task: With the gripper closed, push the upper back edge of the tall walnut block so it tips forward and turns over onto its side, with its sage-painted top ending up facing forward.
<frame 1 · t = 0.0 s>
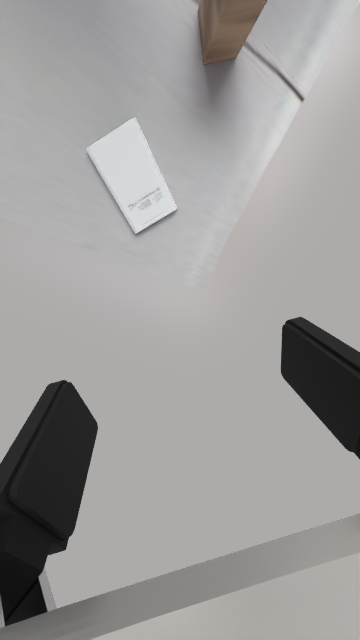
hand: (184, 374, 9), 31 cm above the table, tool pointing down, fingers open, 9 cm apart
external hard drive: (135, 183, 32), on the table
walnut block: (217, 35, 26), on the table
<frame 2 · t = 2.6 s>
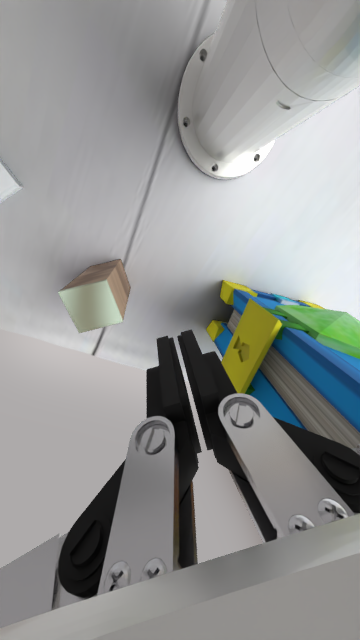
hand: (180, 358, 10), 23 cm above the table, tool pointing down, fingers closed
decorative book: (263, 317, 38), on the table
walnut block: (111, 277, 30), on the table
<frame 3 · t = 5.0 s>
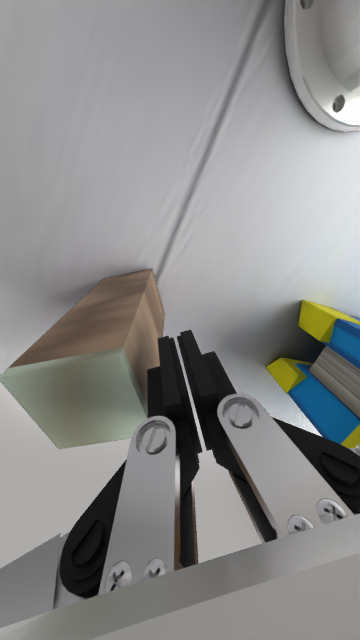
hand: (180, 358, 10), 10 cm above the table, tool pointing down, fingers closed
decorative book: (345, 350, 26), on the table
walnut block: (135, 297, 18), on the table, tilted 7°
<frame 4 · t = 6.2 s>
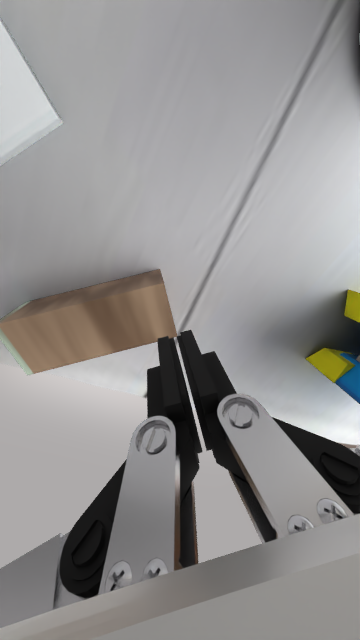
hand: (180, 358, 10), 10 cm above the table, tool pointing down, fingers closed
walnut block: (168, 300, 17), point 2 cm above the table, tilted 90°
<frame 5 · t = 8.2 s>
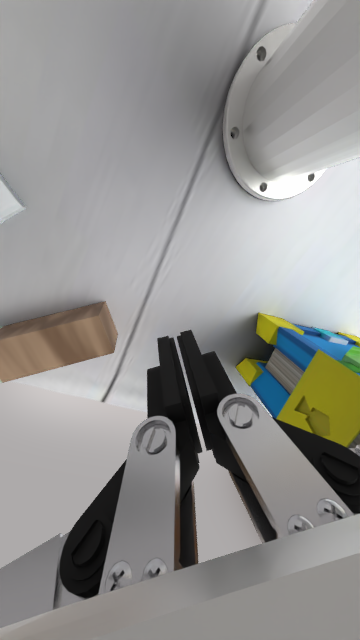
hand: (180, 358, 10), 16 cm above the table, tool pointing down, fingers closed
decorative book: (298, 351, 33), on the table
walnut block: (109, 325, 23), point 2 cm above the table, tilted 90°
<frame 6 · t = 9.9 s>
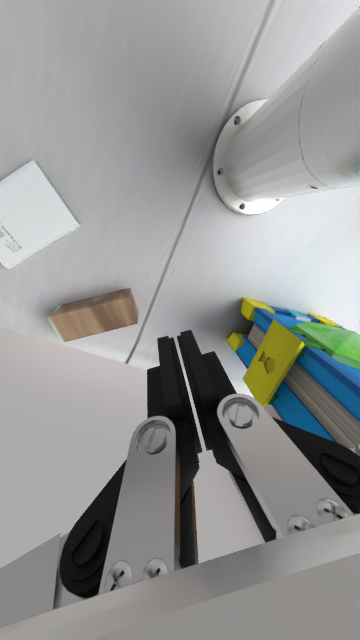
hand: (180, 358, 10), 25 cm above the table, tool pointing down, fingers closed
decorative book: (277, 329, 42), on the table
external hard drive: (25, 219, 28), on the table
walnut block: (133, 305, 32), point 2 cm above the table, tilted 90°
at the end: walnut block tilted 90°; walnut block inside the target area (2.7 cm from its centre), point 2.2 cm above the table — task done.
